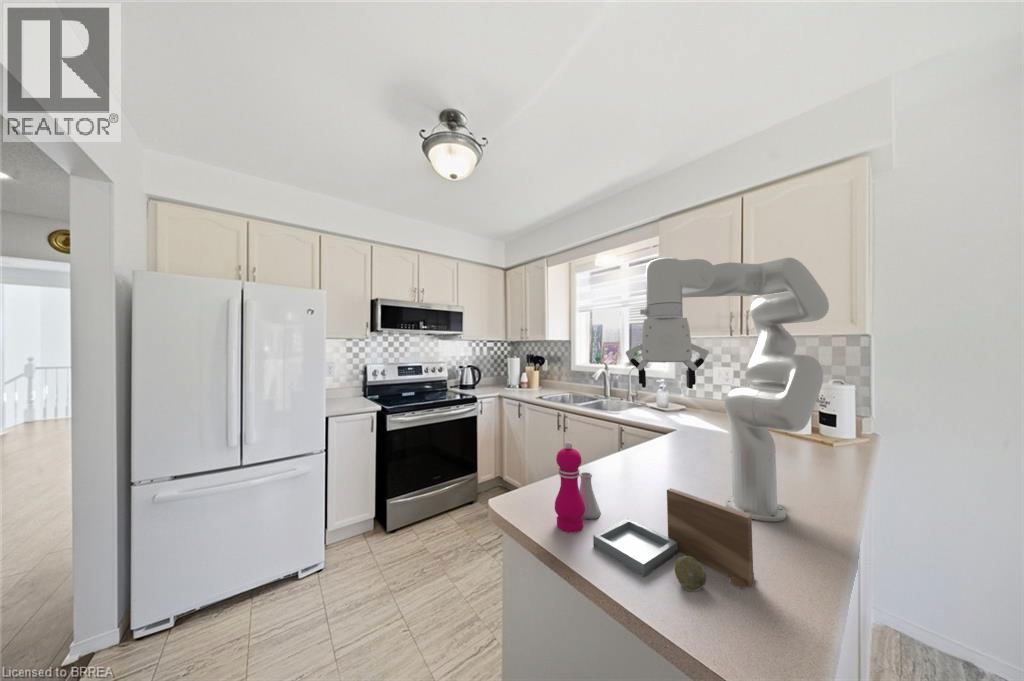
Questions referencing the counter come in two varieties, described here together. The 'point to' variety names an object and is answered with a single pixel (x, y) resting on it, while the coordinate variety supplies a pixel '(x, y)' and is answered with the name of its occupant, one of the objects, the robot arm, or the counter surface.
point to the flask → (588, 497)
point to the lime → (690, 573)
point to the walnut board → (712, 535)
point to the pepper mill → (569, 491)
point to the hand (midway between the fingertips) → (666, 387)
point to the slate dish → (635, 546)
